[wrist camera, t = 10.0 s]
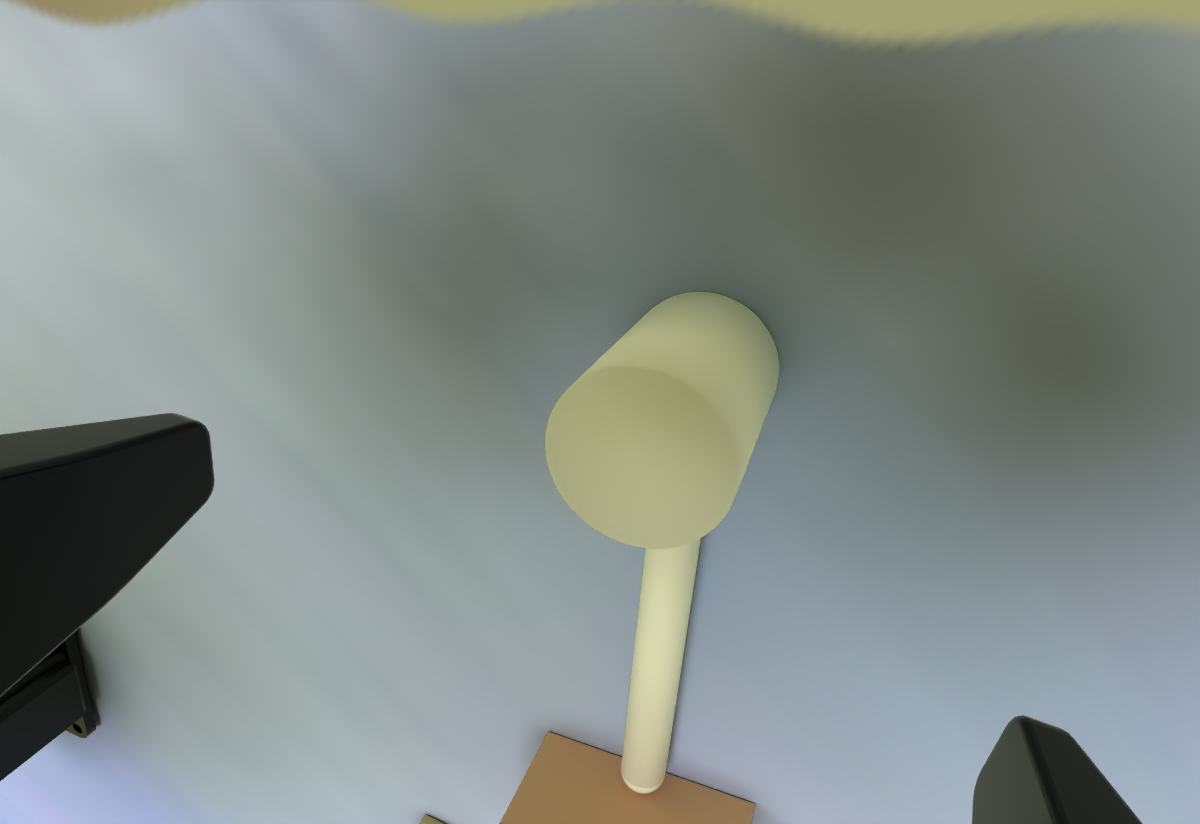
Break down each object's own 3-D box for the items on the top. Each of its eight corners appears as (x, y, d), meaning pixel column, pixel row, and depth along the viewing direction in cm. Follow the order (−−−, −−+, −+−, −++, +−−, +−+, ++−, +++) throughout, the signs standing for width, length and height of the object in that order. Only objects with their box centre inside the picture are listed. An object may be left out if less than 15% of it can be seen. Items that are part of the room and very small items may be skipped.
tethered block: (541, 864, 24) (465, 1034, 20) (572, 269, 16) (452, 342, 12) (724, 938, 23) (683, 1140, 18) (867, 317, 14) (854, 422, 10)
